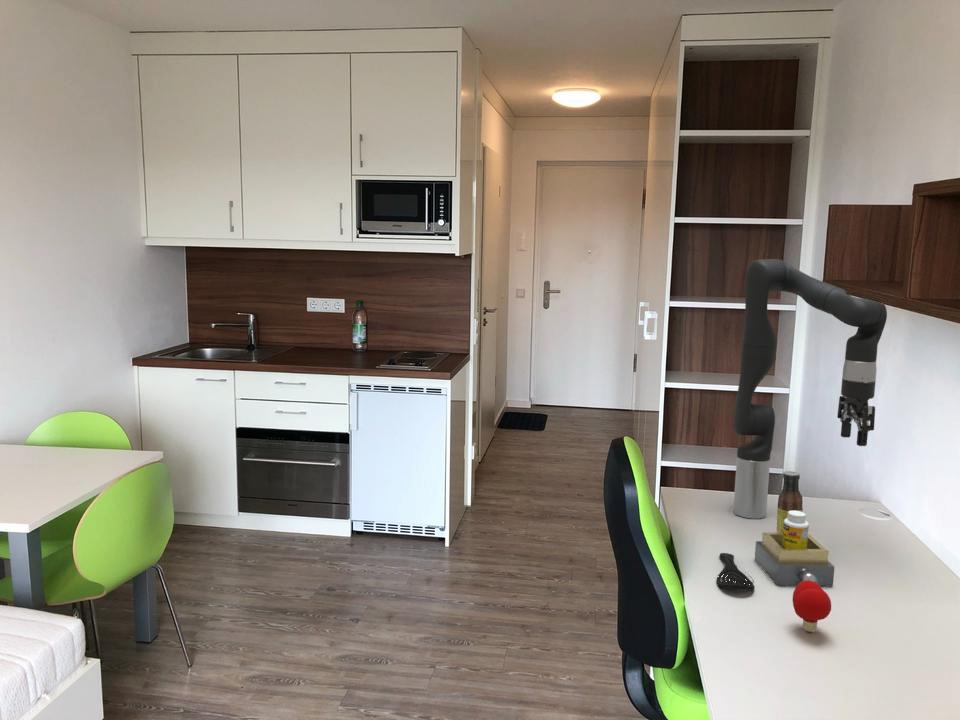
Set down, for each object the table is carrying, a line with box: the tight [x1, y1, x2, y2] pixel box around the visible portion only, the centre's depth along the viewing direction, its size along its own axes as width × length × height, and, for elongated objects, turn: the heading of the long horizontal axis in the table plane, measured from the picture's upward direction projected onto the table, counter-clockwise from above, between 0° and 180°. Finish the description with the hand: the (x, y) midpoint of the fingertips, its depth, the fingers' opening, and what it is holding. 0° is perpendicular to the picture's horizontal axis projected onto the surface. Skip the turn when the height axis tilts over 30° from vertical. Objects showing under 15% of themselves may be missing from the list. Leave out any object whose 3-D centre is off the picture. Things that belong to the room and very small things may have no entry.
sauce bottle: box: [776, 470, 804, 533], centre depth 202 cm, size 6×6×20 cm
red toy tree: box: [792, 581, 832, 634], centre depth 156 cm, size 9×7×10 cm
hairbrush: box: [716, 552, 755, 591], centre depth 184 cm, size 8×4×25 cm
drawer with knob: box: [754, 532, 835, 588], centre depth 183 cm, size 18×13×8 cm
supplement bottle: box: [782, 511, 810, 549], centre depth 184 cm, size 6×6×10 cm
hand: (853, 441), depth 193 cm, fingers open, 8 cm apart
